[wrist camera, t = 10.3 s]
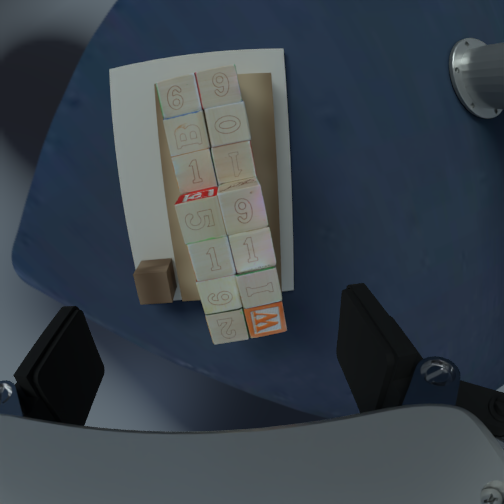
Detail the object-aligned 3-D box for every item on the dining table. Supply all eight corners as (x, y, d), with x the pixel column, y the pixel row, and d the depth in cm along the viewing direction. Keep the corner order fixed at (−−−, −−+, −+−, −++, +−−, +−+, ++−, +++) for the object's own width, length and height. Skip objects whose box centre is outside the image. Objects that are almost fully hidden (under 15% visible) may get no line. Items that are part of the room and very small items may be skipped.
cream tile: (282, 50, 31) (283, 48, 30) (292, 287, 42) (293, 290, 42) (111, 70, 30) (109, 69, 30) (144, 299, 42) (143, 302, 41)
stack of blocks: (174, 93, 29) (144, 74, 18) (235, 80, 29) (239, 52, 18) (216, 280, 37) (213, 347, 26) (270, 270, 37) (288, 334, 26)
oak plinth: (267, 77, 32) (271, 72, 29) (278, 281, 41) (281, 292, 38) (160, 87, 31) (154, 83, 28) (185, 289, 40) (182, 301, 38)
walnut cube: (171, 257, 39) (166, 271, 35) (176, 286, 40) (172, 302, 37) (141, 260, 39) (133, 274, 35) (147, 288, 40) (140, 304, 36)
